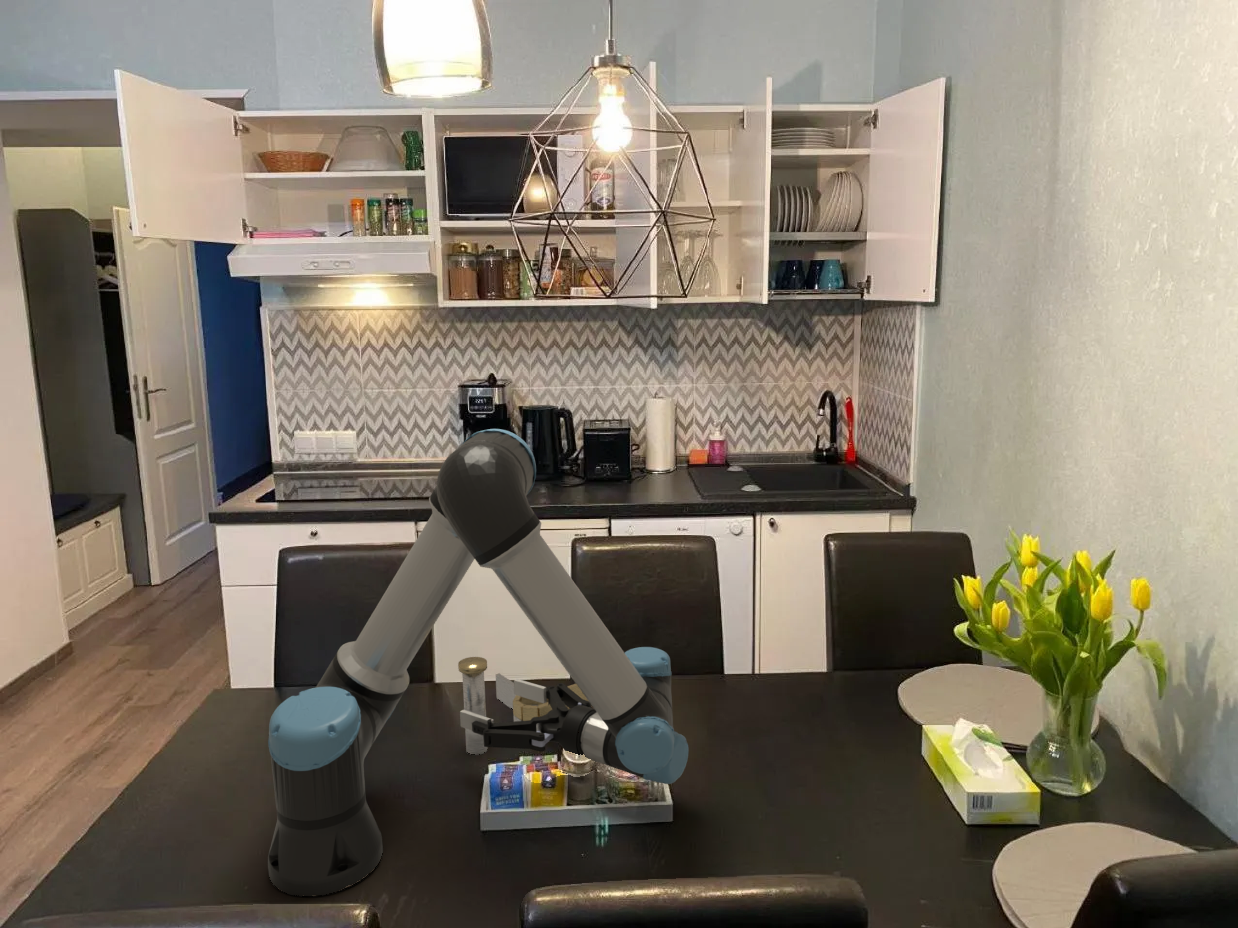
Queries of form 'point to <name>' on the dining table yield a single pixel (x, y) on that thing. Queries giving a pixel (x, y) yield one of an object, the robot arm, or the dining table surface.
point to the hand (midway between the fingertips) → (489, 701)
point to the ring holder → (525, 700)
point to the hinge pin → (474, 698)
